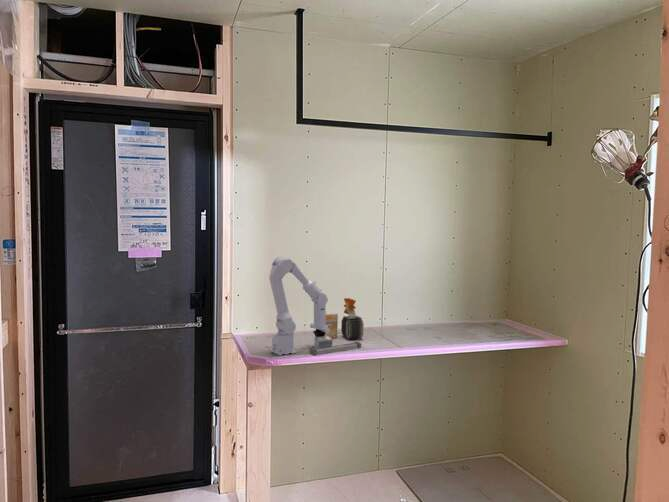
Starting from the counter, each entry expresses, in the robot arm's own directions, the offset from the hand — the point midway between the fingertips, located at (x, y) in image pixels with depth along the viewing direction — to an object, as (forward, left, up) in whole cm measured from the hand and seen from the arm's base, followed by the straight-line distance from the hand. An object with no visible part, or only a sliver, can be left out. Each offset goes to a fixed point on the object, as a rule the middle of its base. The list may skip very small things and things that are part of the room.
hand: (319, 345), depth 228 cm
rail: (+4, -8, -2) cm, 9 cm away
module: (0, -3, -1) cm, 3 cm away
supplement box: (+15, +16, -2) cm, 22 cm away
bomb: (+26, +11, -2) cm, 28 cm away
